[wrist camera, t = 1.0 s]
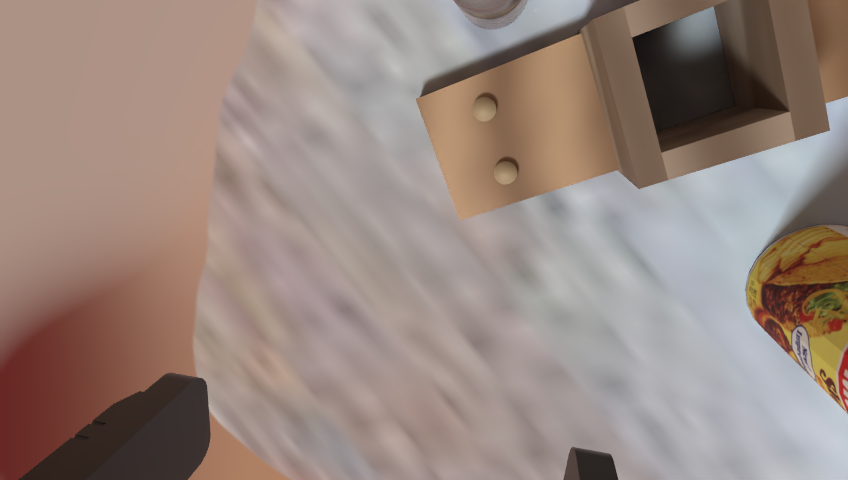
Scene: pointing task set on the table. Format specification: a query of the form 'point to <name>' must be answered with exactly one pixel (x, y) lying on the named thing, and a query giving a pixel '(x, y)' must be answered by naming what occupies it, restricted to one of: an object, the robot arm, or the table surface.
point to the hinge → (634, 102)
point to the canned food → (807, 302)
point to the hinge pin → (491, 12)
